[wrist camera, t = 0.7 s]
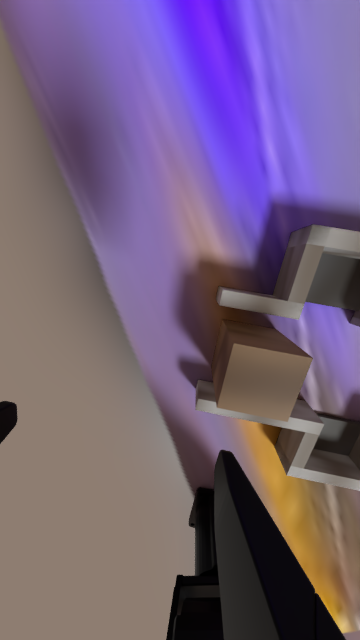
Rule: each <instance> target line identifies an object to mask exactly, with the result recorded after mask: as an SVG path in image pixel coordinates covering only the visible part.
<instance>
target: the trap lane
mask: <svg viewBox="0 0 360 640" xmlns="http://www.w3.org/2000/svg"><path fill="white" fill-rule="evenodd" d="M216 300H217V302H218V304H219V305H221V306H226V307H232V308H237V309H243V310H248V311H254V312H259V313H265V314H270V315H276V316H281V317H287V318H292V319H298V320H299V318H300V315H301V312H302V309H303V306H304V303H305V302H310V303H316V304H322V305H327V306H333V307H339V308H344V309H350V310H355V312H354V315H353V317H352V319H351V322H350V323H351V324H354V325H356V326H359V327H360V232H357V231H351V230H345V229H339V228H333V227H326V226H320V225H314V224H312V225H310V226H307V227H304V228H302V229H299V230H296V231H294V232H291V236H290V239H289V242H288V246H287V249H286V252H285V256H284V259H283V262H282V265H281V269H280V272H279V275H278V279H277V282H276V285H275V289H274V292H273V295H267V294H261V293H256V292H250V291H244V290H239V289H233V288H227V287H222V286H219V287H218V291H217V296H216ZM196 410H199V411H204V412H209V413H214V414H218V415H223V416H228V417H233V418H238V419H243V420H248V421H253V422H258V423H263V424H268V425H272V426H277V427H282V429H281V432H280V435H279V437H278V440H277V442H276V445H275V449H276V451H277V454H278V456H279V458H280V461H281V463H282V465H283V468H284V470H285V472H286V475H288V476H293V477H297V478H302V479H307V480H311V481H316V482H321V483H325V484H330V485H335V486H339V487H344V488H349V489H354V490H358V491H360V422H356V421H351V420H346V419H341V418H336V417H331V416H326V415H321V414H316V413H315V412H314V411H313V409H312V408H311V407H310V406H309V404H308V403H307V402H306V401H304V400H299V399H297V400H296V402H295V405H294V407H293V410H292V412H291V415H290V417H289V420H288V422H285V421H280V420H275V419H270V418H265V417H260V416H255V415H250V414H245V413H240V412H235V411H230V410H225V409H221V408H217V405H216V398H215V391H214V384H213V382H208V381H203V380H198V382H197V386H196Z"/></svg>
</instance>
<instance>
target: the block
mask: <svg viewBox="0 0 360 640" xmlns="http://www.w3.org/2000/svg"><path fill="white" fill-rule="evenodd" d="M312 359H313V358H312V357H311V356H309V355H308V354H307V353H306V352H304V351H303V350H302V349H301V348H299V347H298V346H297V345H296V344H294V343H293V342H292V341H290V340H289V339H288V338H287V337H285V336H284V335H283V334H282V333H280V332H279V331H278V330H276V329H273V328H268V327H262V326H257V325H251V324H246V323H240V322H235V321H230V320H224V319H222V322H221V327H220V331H219V335H218V339H217V344H216V348H215V352H214V356H213V360H212V365H211V369H212V376H213V384H214V391H215V398H216V405H217V408H221V409H225V410H230V411H235V412H240V413H245V414H250V415H255V416H260V417H265V418H270V419H275V420H280V421H285V422H288V420H289V417H290V415H291V412H292V410H293V407H294V405H295V402H296V400H297V397H298V395H299V392H300V390H301V387H302V385H303V382H304V380H305V377H306V375H307V372H308V369H309V367H310V364H311V362H312Z"/></svg>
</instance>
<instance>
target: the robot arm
mask: <svg viewBox="0 0 360 640" xmlns="http://www.w3.org/2000/svg"><path fill="white" fill-rule="evenodd" d="M16 423H17V406H16V404H15V403H12V402H8V401H3V402H0V444H1V442H2V441H3V440H4V439H5V438H6V436H7V435H8V434H9V433H10V431H11V430H12V429H13V428H14V427H15V425H16ZM189 526H190V527H193V528H195V576H183V575H177V578H176V585H175V587H174V592H173V599H172V606H171V612H170V619H169V625H168V632H167V639H166V640H346V639H345V637H344V636H343V634H342V633H341V631H340V629H339V628H338V626H337V625H336V623H335V621H334V620H333V618H332V616H331V615H330V613H329V612H328V610H327V608H326V607H325V605H324V603H323V602H322V600H321V598H320V597H319V595H318V594H317V593H315V589H314V587H313V585H312V584H311V582H310V580H309V579H308V577H307V575H306V574H305V572H304V570H303V569H302V567H301V566H300V564H299V562H298V561H297V559H296V557H295V556H294V554H293V552H292V551H291V549H290V547H289V546H288V544H287V542H286V541H285V539H284V537H283V536H282V534H281V532H280V531H279V529H278V528H277V526H276V524H275V523H274V521H273V519H272V518H271V516H270V514H269V513H268V511H267V509H266V508H265V506H264V504H263V503H262V501H261V499H260V498H259V496H258V494H257V493H256V491H255V490H254V488H253V486H252V485H251V483H250V481H249V480H248V478H247V476H246V475H245V473H244V471H243V470H242V468H241V466H240V465H239V463H238V461H237V460H236V458H235V457H234V455H233V453H232V452H230V451H226V450H220V452H219V455H218V458H217V461H216V464H215V470H214V491H212V490H208V489H203V488H198V489H197V492H196V495H195V499H194V503H193V507H192V510H191V514H190V518H189Z"/></svg>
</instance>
